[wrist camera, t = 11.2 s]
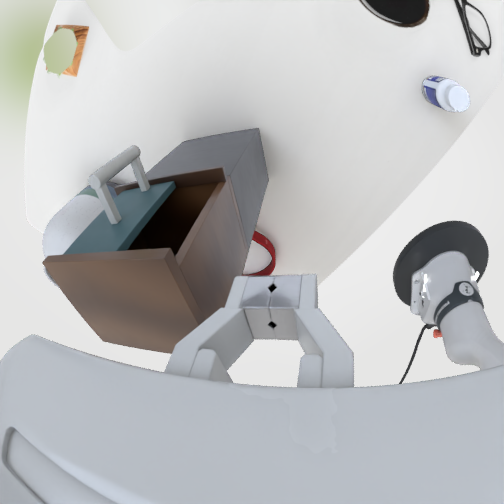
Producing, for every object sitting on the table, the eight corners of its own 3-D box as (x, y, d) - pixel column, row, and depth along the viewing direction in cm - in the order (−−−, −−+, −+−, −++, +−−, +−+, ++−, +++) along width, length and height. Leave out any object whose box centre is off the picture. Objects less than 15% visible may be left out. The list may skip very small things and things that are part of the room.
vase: (95, 162, 52) (20, 224, 34) (155, 196, 55) (93, 275, 37) (86, 215, 62) (29, 278, 44) (137, 246, 66) (89, 320, 48)
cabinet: (268, 180, 49) (218, 359, 23) (197, 188, 53) (103, 341, 26) (256, 119, 42) (164, 258, 16) (181, 133, 46) (41, 262, 19)
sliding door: (176, 187, 28) (118, 262, 19) (124, 196, 30) (64, 263, 21) (159, 136, 24) (83, 195, 15) (107, 152, 26) (33, 210, 17)
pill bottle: (441, 109, 34) (465, 123, 27) (417, 95, 33) (439, 105, 27) (451, 85, 30) (477, 94, 23) (427, 69, 30) (451, 74, 23)
